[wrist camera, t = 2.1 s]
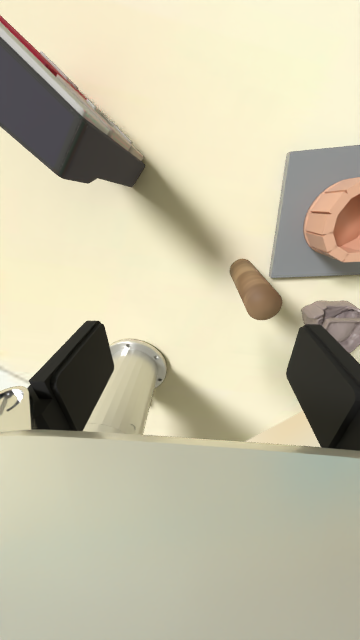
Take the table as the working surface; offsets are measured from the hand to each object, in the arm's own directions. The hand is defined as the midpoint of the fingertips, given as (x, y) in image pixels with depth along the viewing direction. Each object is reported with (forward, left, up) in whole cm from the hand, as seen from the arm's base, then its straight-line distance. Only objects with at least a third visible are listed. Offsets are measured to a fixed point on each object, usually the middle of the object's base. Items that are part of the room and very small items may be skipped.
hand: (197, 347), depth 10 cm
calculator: (+13, +11, -22) cm, 28 cm away
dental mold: (-11, -20, -22) cm, 32 cm away
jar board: (+3, -17, -22) cm, 28 cm away
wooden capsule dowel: (-3, -6, -22) cm, 23 cm away
